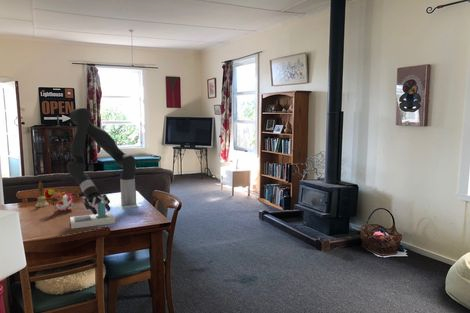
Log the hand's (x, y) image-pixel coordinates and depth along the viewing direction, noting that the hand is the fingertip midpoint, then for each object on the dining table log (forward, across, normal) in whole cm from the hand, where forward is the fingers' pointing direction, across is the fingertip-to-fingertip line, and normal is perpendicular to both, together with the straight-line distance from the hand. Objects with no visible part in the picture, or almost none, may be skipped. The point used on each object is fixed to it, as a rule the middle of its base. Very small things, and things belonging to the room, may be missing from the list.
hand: (102, 212), depth 201 cm
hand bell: (-42, +2, +51) cm, 66 cm away
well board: (+2, -4, +7) cm, 8 cm away
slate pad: (-2, -9, +6) cm, 11 cm away
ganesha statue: (-25, 0, +34) cm, 42 cm away
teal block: (+3, 0, +5) cm, 5 cm away
